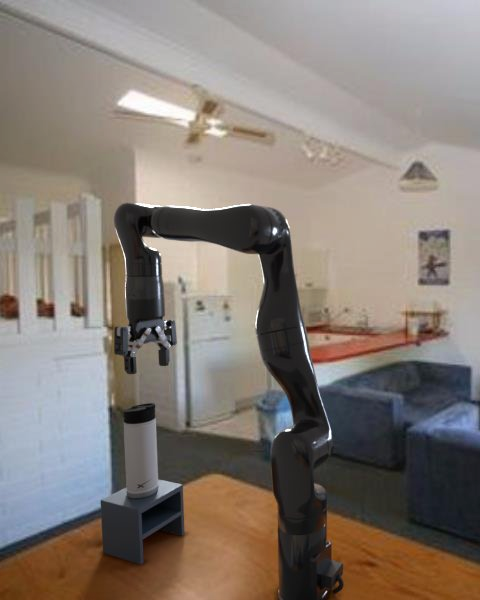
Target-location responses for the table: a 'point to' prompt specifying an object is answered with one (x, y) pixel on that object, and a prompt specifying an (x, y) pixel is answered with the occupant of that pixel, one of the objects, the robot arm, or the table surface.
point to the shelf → (140, 519)
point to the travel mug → (140, 450)
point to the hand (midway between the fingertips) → (148, 369)
